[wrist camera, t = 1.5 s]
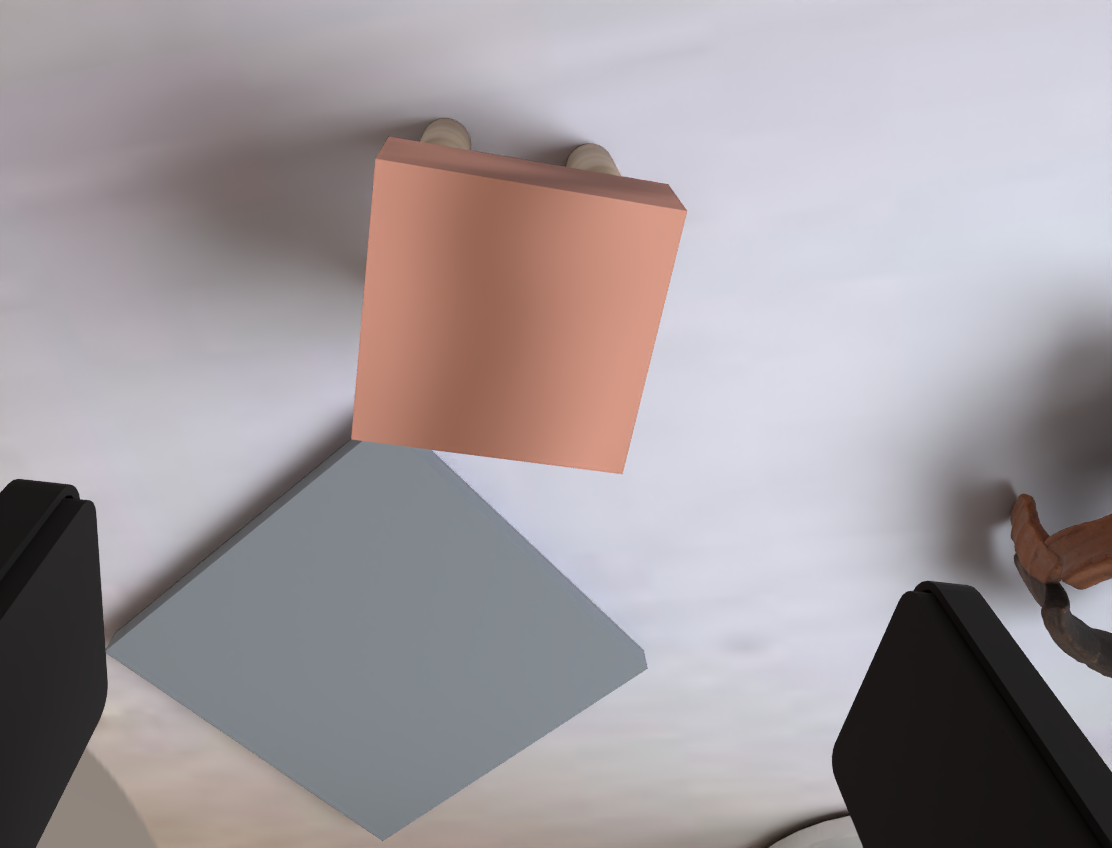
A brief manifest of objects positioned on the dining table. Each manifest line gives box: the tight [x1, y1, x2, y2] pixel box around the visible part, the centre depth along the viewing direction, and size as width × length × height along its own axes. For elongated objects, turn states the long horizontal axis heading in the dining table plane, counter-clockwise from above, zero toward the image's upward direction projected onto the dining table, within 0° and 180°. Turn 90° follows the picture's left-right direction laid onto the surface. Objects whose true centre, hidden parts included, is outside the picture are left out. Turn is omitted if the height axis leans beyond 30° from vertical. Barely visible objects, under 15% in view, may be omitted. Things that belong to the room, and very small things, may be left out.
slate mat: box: [105, 440, 648, 841], centre depth 34 cm, size 14×14×1 cm
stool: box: [351, 118, 687, 474], centre depth 24 cm, size 6×6×8 cm
